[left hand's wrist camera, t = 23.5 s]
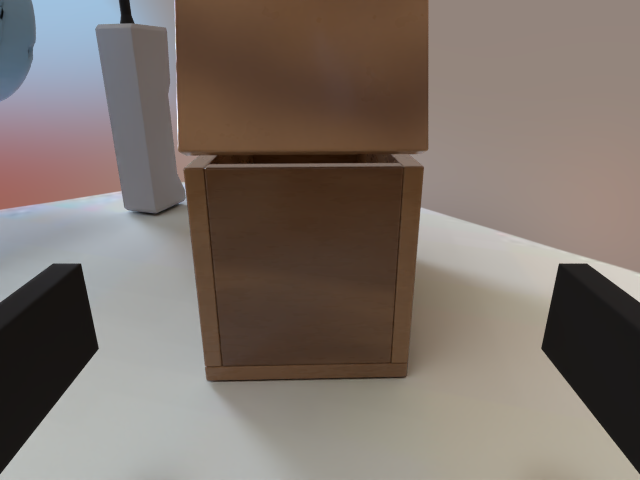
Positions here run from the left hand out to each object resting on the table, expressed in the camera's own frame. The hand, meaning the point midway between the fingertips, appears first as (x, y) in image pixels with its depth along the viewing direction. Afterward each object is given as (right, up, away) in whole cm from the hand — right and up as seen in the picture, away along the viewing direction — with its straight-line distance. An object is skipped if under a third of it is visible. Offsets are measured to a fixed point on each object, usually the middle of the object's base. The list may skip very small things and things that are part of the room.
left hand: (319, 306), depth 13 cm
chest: (-1, -1, +16) cm, 16 cm away
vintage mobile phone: (-17, +5, +34) cm, 38 cm away
